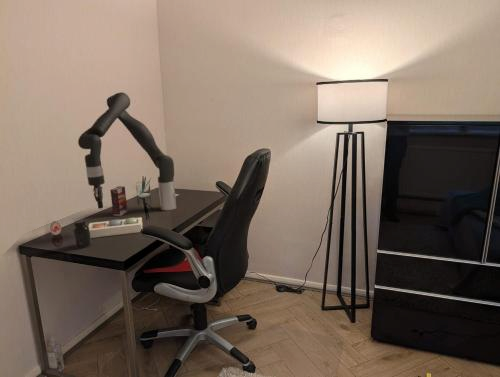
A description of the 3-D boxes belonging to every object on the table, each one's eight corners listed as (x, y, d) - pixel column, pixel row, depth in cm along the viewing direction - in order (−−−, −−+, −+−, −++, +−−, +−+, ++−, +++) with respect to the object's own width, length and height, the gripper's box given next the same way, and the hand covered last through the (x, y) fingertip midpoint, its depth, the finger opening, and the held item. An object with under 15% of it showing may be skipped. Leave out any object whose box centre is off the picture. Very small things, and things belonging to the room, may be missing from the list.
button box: (142, 224, 192) (141, 217, 191) (141, 231, 180) (141, 224, 179) (90, 230, 185) (89, 223, 184) (86, 238, 174) (85, 230, 173)
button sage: (137, 221, 187) (136, 217, 187) (137, 225, 182) (136, 220, 181) (126, 223, 186) (125, 218, 185) (125, 226, 181) (124, 221, 180)
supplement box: (120, 216, 207) (117, 189, 203) (113, 215, 208) (109, 189, 204) (128, 211, 215) (125, 186, 212) (121, 211, 216) (117, 186, 213)
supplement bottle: (78, 243, 168) (75, 219, 166) (93, 242, 169) (90, 218, 166) (73, 248, 162) (69, 224, 159) (88, 247, 162) (84, 223, 159)
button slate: (121, 223, 185) (120, 218, 185) (120, 227, 180) (119, 222, 179) (110, 224, 184) (109, 220, 183) (108, 228, 179) (108, 223, 178)
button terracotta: (105, 228, 184) (104, 223, 183) (104, 231, 178) (103, 227, 178) (94, 229, 182) (93, 224, 182) (92, 233, 177) (91, 228, 176)
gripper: (101, 176, 171) (107, 210, 175) (104, 171, 183) (109, 203, 187) (85, 178, 169) (91, 212, 173) (89, 173, 181) (94, 205, 185)
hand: (100, 208), depth 180 cm, fingers closed
